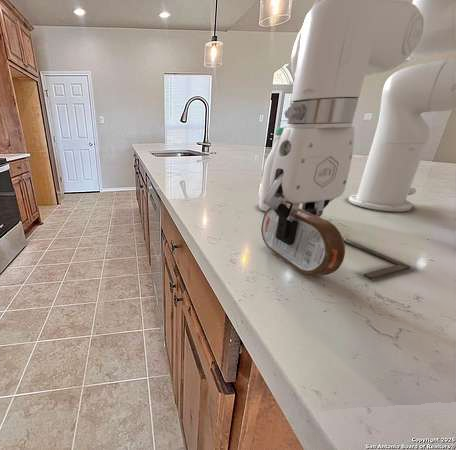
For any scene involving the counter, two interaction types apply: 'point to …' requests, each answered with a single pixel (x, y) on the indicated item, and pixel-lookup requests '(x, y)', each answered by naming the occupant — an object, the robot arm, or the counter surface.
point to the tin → (306, 243)
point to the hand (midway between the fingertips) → (293, 238)
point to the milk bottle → (269, 171)
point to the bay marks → (385, 271)
